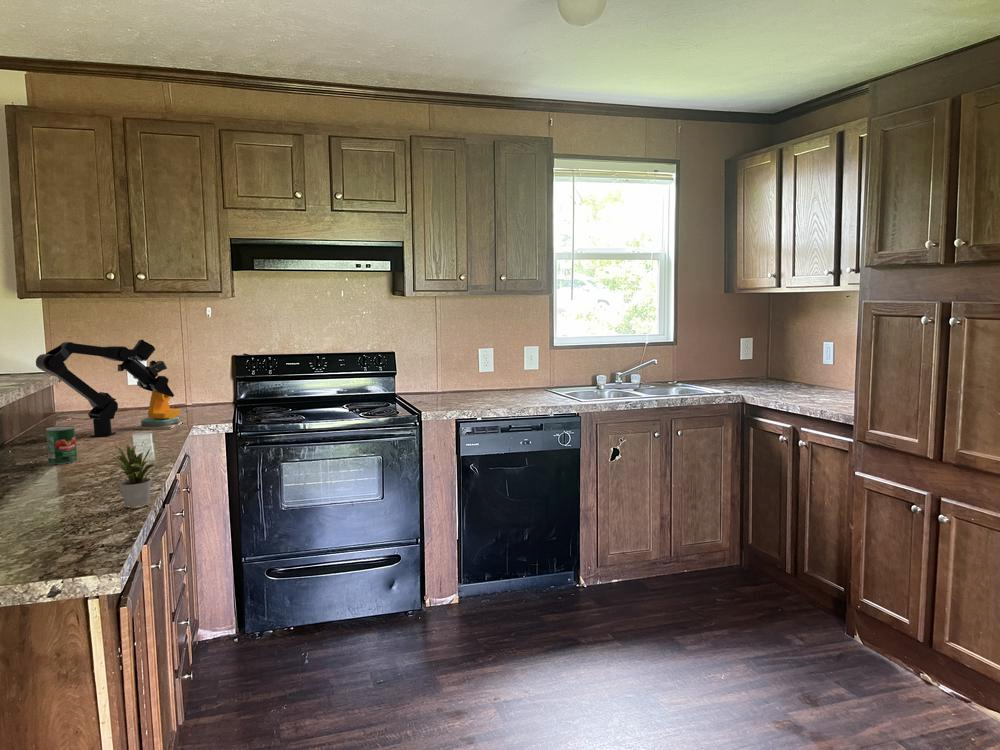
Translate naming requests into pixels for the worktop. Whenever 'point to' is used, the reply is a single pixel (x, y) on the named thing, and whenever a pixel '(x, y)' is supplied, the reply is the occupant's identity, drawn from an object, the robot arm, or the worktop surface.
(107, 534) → the worktop surface
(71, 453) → the canned tomato
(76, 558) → the worktop surface
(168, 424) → the teal flat pad
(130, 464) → the house plant
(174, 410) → the bracket
